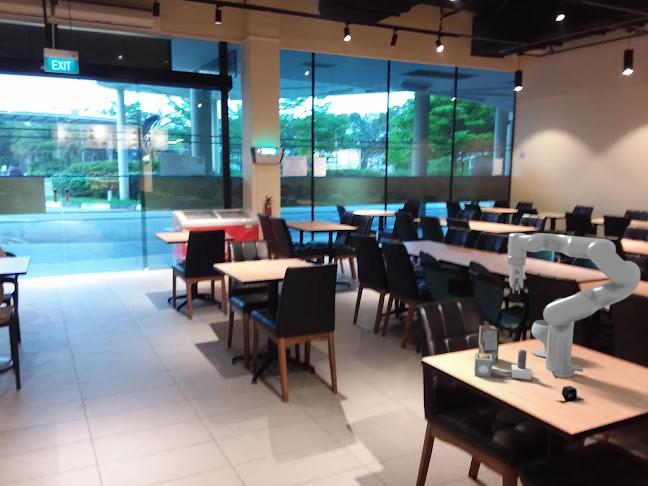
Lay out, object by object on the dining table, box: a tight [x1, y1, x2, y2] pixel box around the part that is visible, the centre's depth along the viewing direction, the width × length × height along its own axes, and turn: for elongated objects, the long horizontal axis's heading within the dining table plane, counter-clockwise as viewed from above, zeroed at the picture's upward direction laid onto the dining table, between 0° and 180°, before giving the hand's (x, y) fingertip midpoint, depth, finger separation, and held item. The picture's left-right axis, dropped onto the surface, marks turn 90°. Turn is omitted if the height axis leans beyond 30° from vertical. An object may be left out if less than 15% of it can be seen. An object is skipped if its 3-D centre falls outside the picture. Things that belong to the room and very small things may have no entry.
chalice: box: [531, 319, 549, 359], centre depth 241 cm, size 14×14×15 cm
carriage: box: [511, 349, 533, 380], centre depth 209 cm, size 7×6×11 cm
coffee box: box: [478, 324, 500, 364], centre depth 229 cm, size 9×6×16 cm
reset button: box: [479, 354, 488, 359], centre depth 212 cm, size 4×4×3 cm
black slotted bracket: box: [560, 385, 585, 403], centre depth 193 cm, size 12×7×5 cm, turn 107°
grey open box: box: [474, 352, 493, 378], centre depth 212 cm, size 6×8×7 cm
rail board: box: [476, 368, 534, 383], centre depth 211 cm, size 22×9×4 cm, turn 75°
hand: (514, 299), depth 228 cm, fingers open, 9 cm apart
